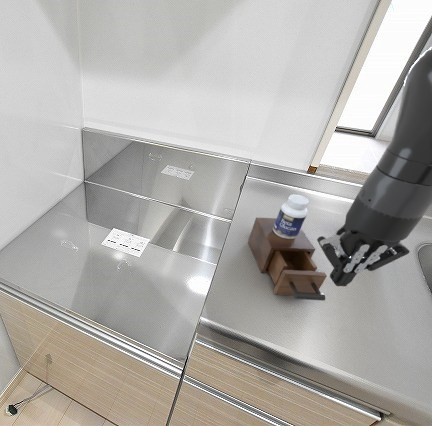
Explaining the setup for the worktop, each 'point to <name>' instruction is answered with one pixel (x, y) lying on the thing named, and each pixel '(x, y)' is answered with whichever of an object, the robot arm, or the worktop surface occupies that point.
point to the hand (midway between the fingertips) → (337, 282)
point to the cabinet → (274, 242)
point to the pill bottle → (291, 217)
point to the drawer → (296, 275)
